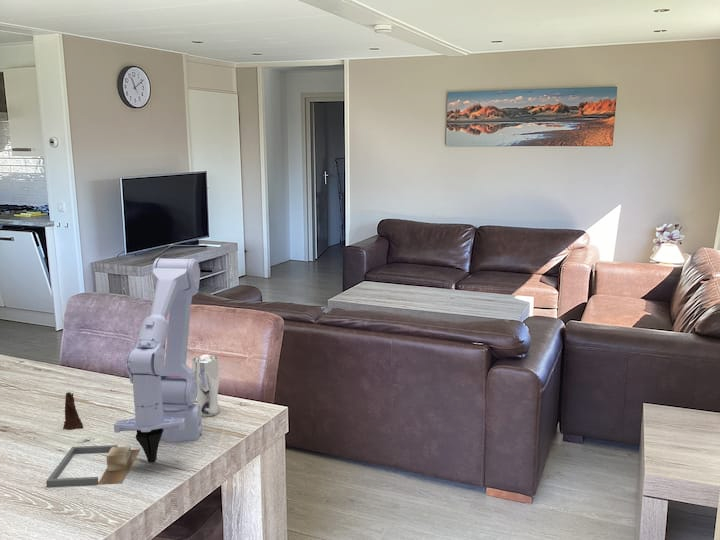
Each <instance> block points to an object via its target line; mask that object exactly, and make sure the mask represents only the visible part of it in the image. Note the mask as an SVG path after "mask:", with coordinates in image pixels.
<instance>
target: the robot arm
mask: <svg viewBox="0 0 720 540" xmlns="http://www.w3.org/2000/svg"><path fill="white" fill-rule="evenodd" d="M151 275H152V281H153V284H154V287H155V290H154V295H153V300H152V305H151V310H150V315H149V316H147V317H145V318H144V319H143V320H142V323H141V324H142V325H141V327H140V331H139V333H138V337H137V341H136V344H135V345H134V346H135V347H133V349H131V350H130V351H129V352H128V353H127V356H126V363H125V369H126V373H127V374H128V376H129V382H130V384H132V390H133V391H132V392H133V404H134V415H135V416H134V418H129V419H127V418H126V419H122V420H116V421H115V422H114V424H113V429H114V431H113V432H114V434H115V433H118V434H119V433H120V432H131V431H132V432H134V431H136V434H135V440H136V441H137V442H138V443H139V445H140V446H141V448H142V450H143V452H144V454H145V456H146V459H147V462H148V464H151V463H154V464H155V463H156V461H157V460H158V459H157V456H158V450H159V444H160V442H161V440H162V441H163V442H167V443H181V442H187V441H189V442H190V441H191V442H192V441H199V440H200V436H201V435H202V433H203V424H202V423H203V422H202V417H201V407H200V405H199V404H197V403H195V402H196V401H197V393H198V387H197V375H196V373H195V372H194V371H193V370H192V367H189V366H188V364H187V357H188V347H189V346H188V344H189V335H190V334H189V333H190V323H191V322H190V321H191V320H190V319H191V311H192V310H191V308H192V301H193V300H192V299H193V297H194V296H195V295H197V294H198V293H199V288H200V280H201V269H200V263H199V262H198V260H197V259H196V258H194V257H193V258H192V257H191V258H161V257H157V258H155V260H154V262H153V264H152V267H151ZM167 318H168V320H167ZM165 345H166V348H165ZM168 377H176V378H168ZM177 377H180V378H177ZM181 377H183V378H181Z"/></svg>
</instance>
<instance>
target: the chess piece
mask: <svg viewBox="0 0 720 540" xmlns="http://www.w3.org/2000/svg"><path fill="white" fill-rule="evenodd" d="M76 408H77V407H76V405H75V397H74V393H71V392H70V391H68V392H66V393H65V402H64V420H65V421H64V422H63V430H65V431H70V430H71V431H72V430H83V429H84V425H83V422H82V419H81V418H80V416H79V413H78V411H77V409H76Z"/></svg>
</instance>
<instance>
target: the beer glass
mask: <svg viewBox="0 0 720 540" xmlns="http://www.w3.org/2000/svg"><path fill="white" fill-rule="evenodd" d="M191 369H192V370H193V371H194V372H195V373H196V375H197V387H198V393H197V398H196V401H197V402H196V404H199V405H200V407H201V418H202V417H203V418H208V417H213V416H216V415H218V414H219V413H220V405H219V402H218V401H219V400H218V395H219V394H218V393H219V387H220V378H221V377H220V375H221V373H220V365H219V357H218V355H215V354H201V355H197V356H196V355H195V356H194V357H193V358H192V363H191Z"/></svg>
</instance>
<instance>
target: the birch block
mask: <svg viewBox="0 0 720 540" xmlns="http://www.w3.org/2000/svg"><path fill="white" fill-rule="evenodd" d="M131 447H132V446H129V445H128V446H118V447H112V448H111V449H110V451H109V452H107V455H106V465H107V468H108V471H118V470H127V469H128V467H129V465H130V463H131V462H132V458H131V450H132V448H131ZM107 468H106V469H107Z"/></svg>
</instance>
